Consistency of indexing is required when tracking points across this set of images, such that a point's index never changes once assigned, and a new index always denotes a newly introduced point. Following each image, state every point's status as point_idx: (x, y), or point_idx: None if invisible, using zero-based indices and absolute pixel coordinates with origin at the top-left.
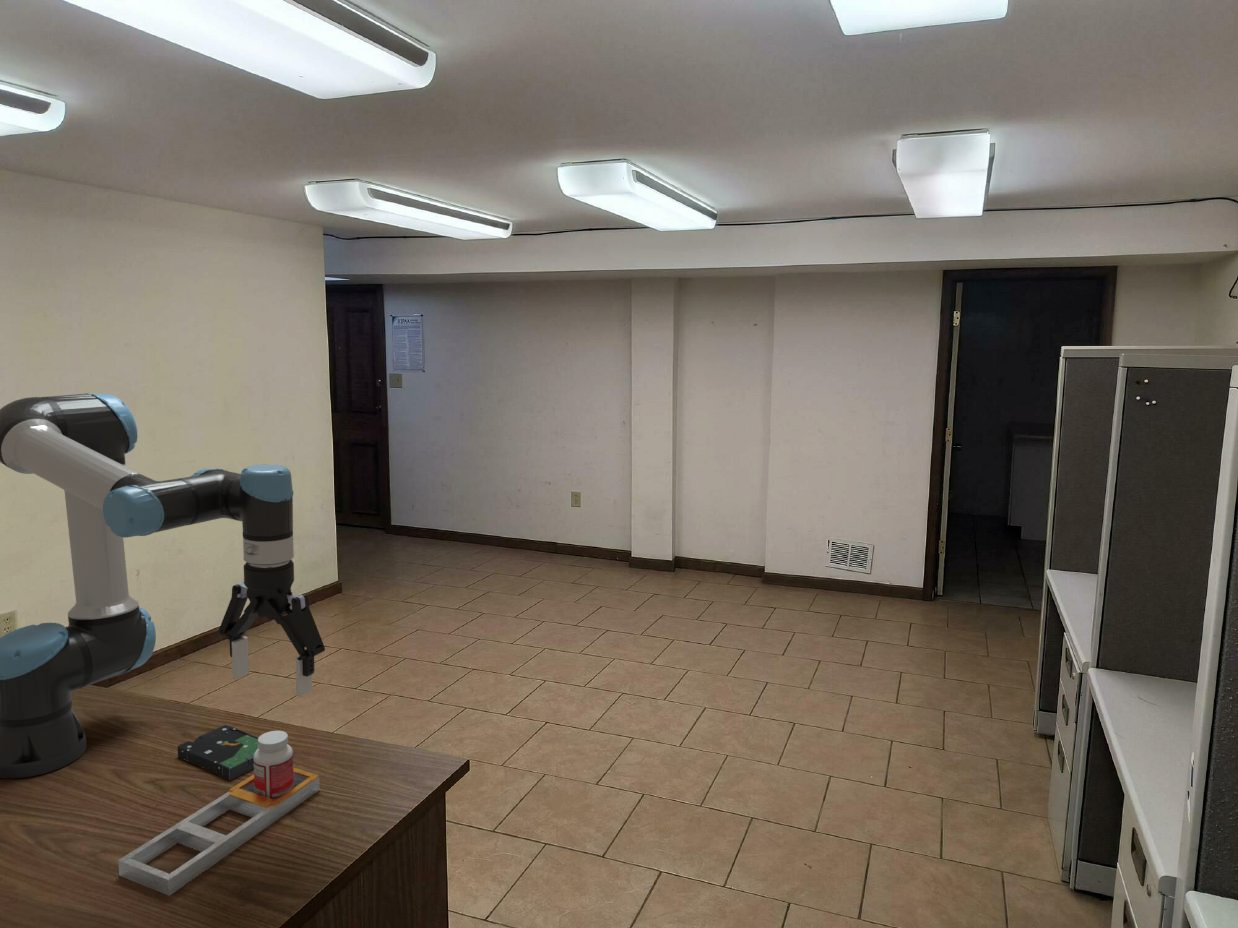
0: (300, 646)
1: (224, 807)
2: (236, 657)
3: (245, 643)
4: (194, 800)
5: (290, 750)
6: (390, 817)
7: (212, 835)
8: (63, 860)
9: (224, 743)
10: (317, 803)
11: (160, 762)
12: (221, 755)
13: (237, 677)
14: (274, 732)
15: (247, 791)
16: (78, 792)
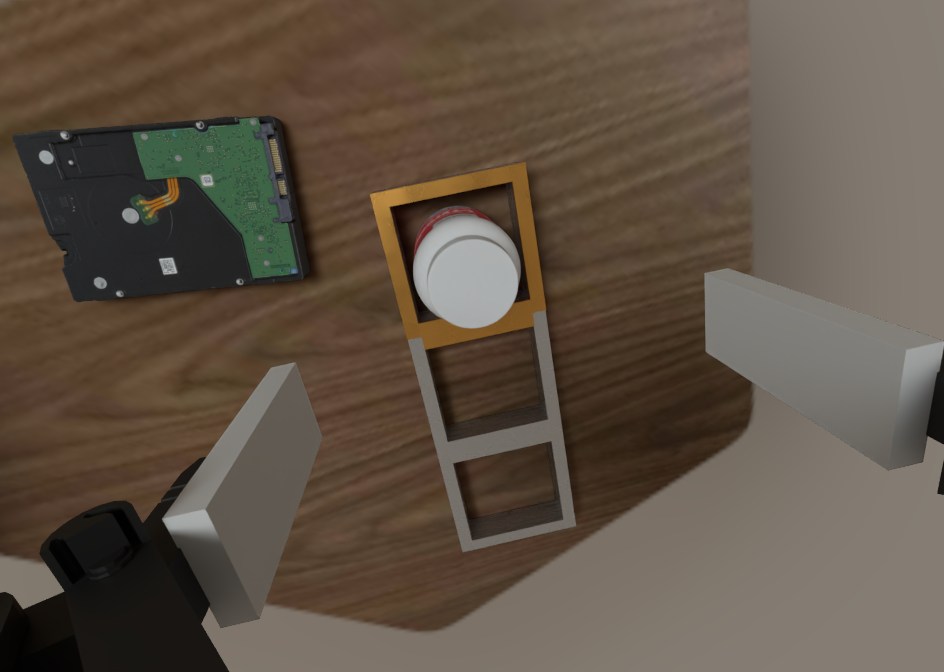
0: None
1: (427, 352)
2: (292, 515)
3: (237, 498)
4: (334, 363)
5: (507, 241)
6: (736, 133)
7: (527, 434)
8: (352, 566)
9: (148, 210)
10: (557, 202)
11: (100, 334)
12: (214, 253)
13: (319, 434)
14: (449, 263)
15: None
16: (127, 489)
